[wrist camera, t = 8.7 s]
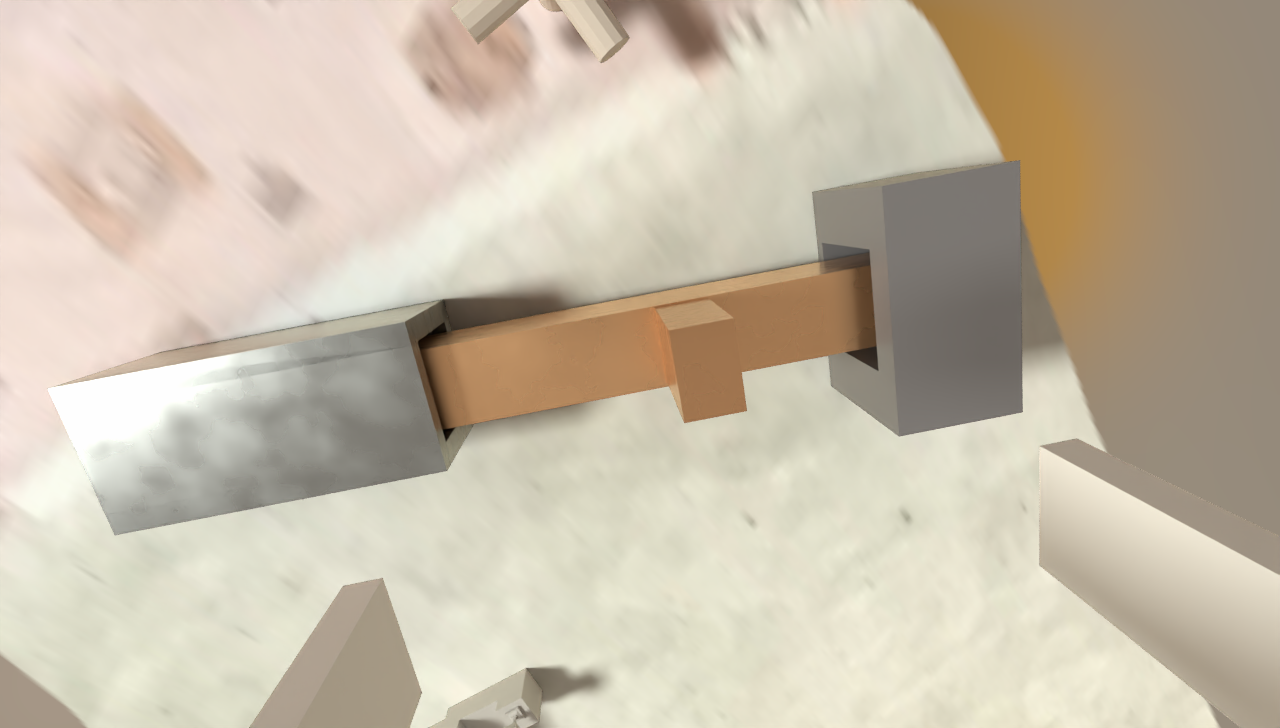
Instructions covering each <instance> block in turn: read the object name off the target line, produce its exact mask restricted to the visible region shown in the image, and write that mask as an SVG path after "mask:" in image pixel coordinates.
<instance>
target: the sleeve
mask: <svg viewBox="0 0 1280 728" xmlns="http://www.w3.org/2000/svg"><path fill="white" fill-rule="evenodd" d="M450 331H452V330H451V327H450V323H449V319H448V315H447V312H446V308H445V304H444V300H438V301H432V302H427V303H422V304H416V305H411V306H406V307H400V308H395V309H389V310H384V311H379V312H373V313H368V314H363V315H357V316H352V317H347V318H341V319H336V320H331V321H325V322H320V323H314V324H309V325H304V326H298V327H293V328H288V329H282V330H277V331H272V332H266V333H261V334H256V335H250V336H245V337H239V338H234V339H229V340H223V341H218V342H213V343H207V344H202V345H197V346H191V347H186V348H181V349H175V350H170V351H164V352H159V353H156V354H153V355H150V356H147V357H144V358H141V359H138V360H135V361H132V362H129V363H126V364H122V365H119V366H116V367H113V368H110V369H107V370H104V371H101V372H98V373H95V374H92V375H89V376H85V377H82V378H79V379H76V380H73V381H70V382H67V383H64V384H61V385H58V386H55V387H51V388H48V391H49V393H50V395H51V397H52V399H53V402H54V404H55V406H56V408H57V410H58V413H59V415H60V417H61V419H62V421H63V423H64V426H65V428H66V430H67V432H68V434H69V437H70V439H71V441H72V443H73V445H74V447H75V450H76V452H77V454H78V456H79V458H80V460H81V463H82V465H83V467H84V469H85V471H86V474H87V476H88V478H89V480H90V482H91V484H92V487H93V489H94V491H95V493H96V495H97V498H98V500H99V502H100V504H101V506H102V508H103V511H104V513H105V515H106V517H107V519H108V522H109V524H110V526H111V528H112V530H113V532H114V535H119V534H124V533H129V532H135V531H140V530H145V529H150V528H155V527H160V526H166V525H171V524H176V523H181V522H186V521H191V520H196V519H202V518H207V517H212V516H217V515H222V514H227V513H233V512H238V511H243V510H248V509H253V508H258V507H263V506H269V505H274V504H279V503H284V502H289V501H294V500H300V499H305V498H310V497H315V496H320V495H325V494H330V493H336V492H341V491H346V490H351V489H356V488H361V487H367V486H372V485H377V484H382V483H387V482H392V481H397V480H403V479H408V478H413V477H418V476H423V475H428V474H434V473H439V472H444V471H447V470H448V469H449V467H450V465H451V463H452V462H453V460H454V458H455V456H456V455H457V453H458V451H459V449H460V448H461V446H462V444H463V442H464V441H465V439H466V437H467V435H468V434H469V432H470V430H471V428H472V427H473V425H474V424H469V425H464V426H459V427H454V428H449V429H443V430H442V427H441V423H440V420H439V416H438V413H437V409H436V406H435V402H434V398H433V395H432V391H431V388H430V384H429V381H428V377H427V374H426V370H425V367H424V363H423V360H422V356H421V352H420V349H419V345H418V342H417V341H419V340H420V339H422V338H423V337H424V336H428V335H434V334H439V333H444V332H450Z"/></svg>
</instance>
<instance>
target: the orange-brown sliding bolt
mask: <svg viewBox="0 0 1280 728" xmlns="http://www.w3.org/2000/svg"><path fill="white" fill-rule="evenodd" d="M417 342H418V345H419V349H420V352H421V356H422V360H423V363H424V367H425V370H426V374H427V377H428V381H429V384H430V388H431V391H432V395H433V398H434V402H435V406H436V409H437V413H438V416H439V420H440V423H441V427H442V430H443V429H449V428H454V427H459V426H464V425H469V424H475V423H480V422H485V421H490V420H495V419H501V418H506V417H511V416H516V415H521V414H527V413H532V412H537V411H542V410H547V409H553V408H558V407H563V406H568V405H573V404H579V403H584V402H589V401H594V400H599V399H605V398H610V397H615V396H620V395H625V394H631V393H636V392H641V391H646V390H651V389H657V388H662V387H667V386H669V388H670V390H671V392H672V395H673V397H674V399H675V402H676V404H677V407H678V409H679V411H680V414H681V416H682V419H683V421H684V423H687V422H692V421H698V420H703V419H708V418H713V417H718V416H723V415H729V414H734V413H739V412H744V411H747V408H746V401H745V393H744V386H743V379H742V372H745V371H750V370H756V369H761V368H766V367H771V366H776V365H782V364H787V363H792V362H797V361H802V360H808V359H813V358H818V357H823V356H828V355H834V354H839V353H844V352H849V351H854V350H860V349H865V348H870V347H875V346H877V343H876V330H875V317H874V303H873V290H872V277H871V264H870V253H864V254H859V255H854V256H848V257H843V258H838V259H832V260H827V261H822V262H816V263H811V264H806V265H800V266H795V267H790V268H785V269H779V270H774V271H769V272H763V273H758V274H753V275H747V276H742V277H737V278H731V279H726V280H721V281H715V282H710V283H705V284H699V285H694V286H689V287H684V288H678V289H673V290H668V291H662V292H657V293H652V294H646V295H641V296H636V297H630V298H625V299H620V300H614V301H609V302H604V303H598V304H593V305H588V306H583V307H577V308H572V309H567V310H561V311H556V312H551V313H545V314H540V315H535V316H529V317H524V318H519V319H513V320H508V321H503V322H497V323H492V324H487V325H482V326H476V327H471V328H466V329H460V330H455V331H450V332H444V333H439V334H434V335H428V336H424V337H423V338H422V339H420V340H419V341H417Z"/></svg>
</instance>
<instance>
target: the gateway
mask: <svg viewBox="0 0 1280 728" xmlns="http://www.w3.org/2000/svg"><path fill="white" fill-rule="evenodd" d="M542 692H543V691H542V689H541V688H540V687H539V685H538V684H537V682H536V681H535V680H534V678H533V677H532V676H531V674H530V673H529V672H528V670H527V669H526V668H525V669H523V670H521V671H519V672H517V673H515V674H514V675H512V676H510V677H508V678H506V679H504V680H502V681H500V682H498V683H496V684H494V685H492V686H490V687H488V688H487V689H485V690H483V691H481V692H479V693H477V694H475V695H473V696H471V697H469V698H467V699H465V700H463V701H461V702H460V703H458V704H456V705H454V706H452V707H450V708H448V711H447V715H446V718H445V719H444V720H442V721H440V722H438V723H436V724H435V725H433V726H431V727H429V728H528V727H529V726H531V725H533V724H535V723H537V722H539V719H540V710H541V701H542Z"/></svg>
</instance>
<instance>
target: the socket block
mask: <svg viewBox="0 0 1280 728" xmlns="http://www.w3.org/2000/svg"><path fill="white" fill-rule="evenodd" d="M812 193H813V203H814V214H815V224H816V234H817V244H818V254H819V262H822V261H827V260H832V259H838V258H843V257H848V256H854V255H859V254H864V253H870V264H871V277H872V290H873V303H874V317H875V330H876V343H877V346H875V347H870V348H865V349H860V350H854V351H849V352H844V353H839V354H834V355H828V356H829V367H830V377H831V386H832V387H833V388H835V389H836V390H837V391H839V392H840V393H841V394H843V395H844V396H845V397H847V398H848V399H849V400H851V401H852V402H853V403H855V404H856V405H857V406H859V407H860V408H862V409H863V410H864V411H866V412H867V413H868V414H870V415H871V416H872V417H874V418H875V419H876V420H878V421H879V422H880V423H882V424H883V425H884V426H886V427H887V428H888V429H890V430H891V431H892V432H894V433H895V434H897V435H898V436H904V435H909V434H914V433H919V432H924V431H929V430H935V429H940V428H945V427H950V426H955V425H960V424H965V423H970V422H975V421H980V420H985V419H991V418H996V417H1001V416H1006V415H1011V414H1016V413H1021V412H1023V404H1022V307H1021V209H1020V161H1011V162H1003V163H994V164H986V165H977V166H969V167H961V168H952V169H944V170H936V171H927V172H919V173H913V174H908V175H902V176H897V177H891V178H886V179H880V180H875V181H870V182H864V183H859V184H853V185H848V186H843V187H837V188H832V189H826V190H821V191H816V192H812Z"/></svg>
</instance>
